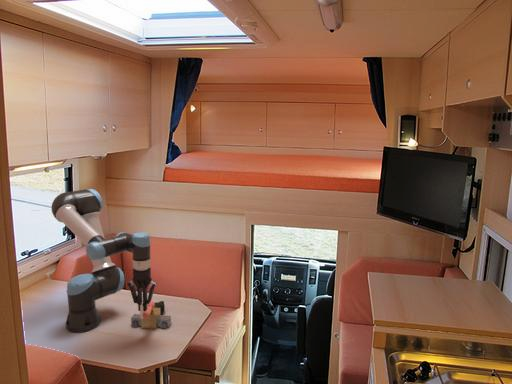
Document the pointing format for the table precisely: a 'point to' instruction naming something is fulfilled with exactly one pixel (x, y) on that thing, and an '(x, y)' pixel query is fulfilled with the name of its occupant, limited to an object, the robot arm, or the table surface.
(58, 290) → the table surface
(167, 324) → the valve
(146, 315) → the lever
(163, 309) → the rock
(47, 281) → the table surface
